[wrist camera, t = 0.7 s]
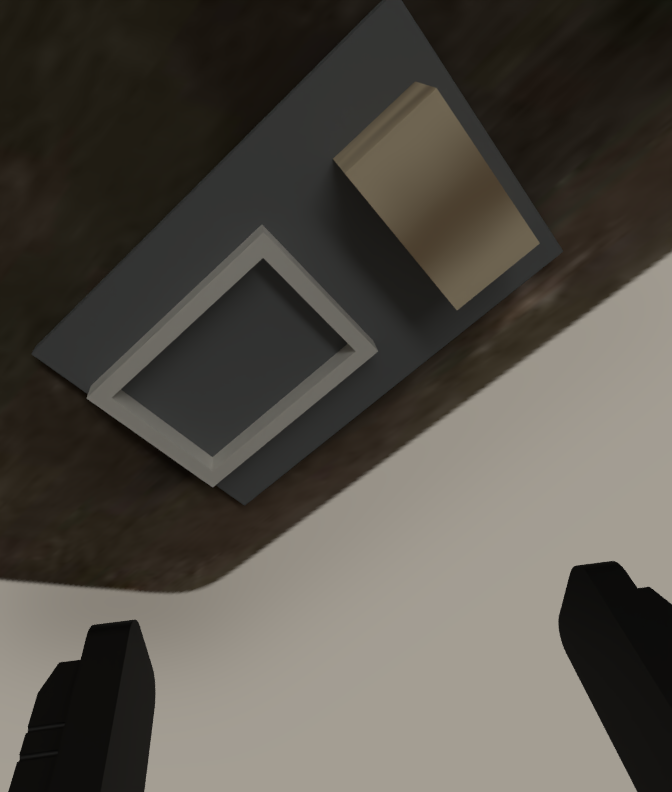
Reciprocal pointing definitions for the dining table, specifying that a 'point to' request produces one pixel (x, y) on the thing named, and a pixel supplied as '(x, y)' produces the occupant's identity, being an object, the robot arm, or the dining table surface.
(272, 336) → the mat
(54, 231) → the dining table surface
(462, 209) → the tan rectangular block
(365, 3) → the dining table surface
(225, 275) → the slot frame
